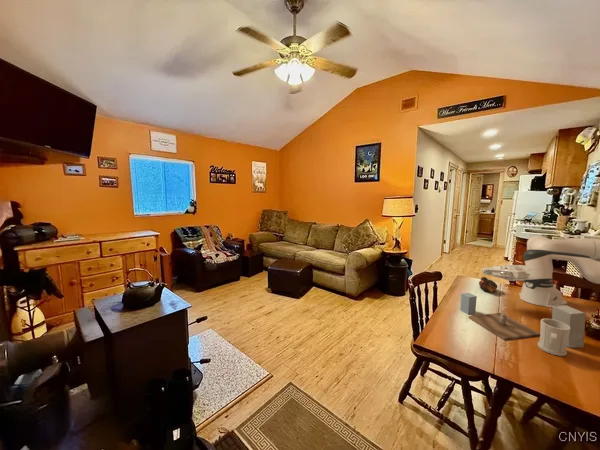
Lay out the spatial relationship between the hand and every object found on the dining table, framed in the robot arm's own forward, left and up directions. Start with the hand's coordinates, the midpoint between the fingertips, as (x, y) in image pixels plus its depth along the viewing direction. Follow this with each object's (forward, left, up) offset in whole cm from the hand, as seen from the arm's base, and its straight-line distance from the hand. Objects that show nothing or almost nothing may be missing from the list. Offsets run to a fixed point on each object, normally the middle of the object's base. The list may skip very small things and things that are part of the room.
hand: (492, 272), depth 136 cm
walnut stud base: (+6, +14, -23) cm, 27 cm away
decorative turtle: (-24, -24, -23) cm, 41 cm away
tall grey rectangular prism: (+11, -2, -23) cm, 26 cm away
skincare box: (-9, +30, -23) cm, 39 cm away
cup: (+3, +34, -23) cm, 41 cm away
